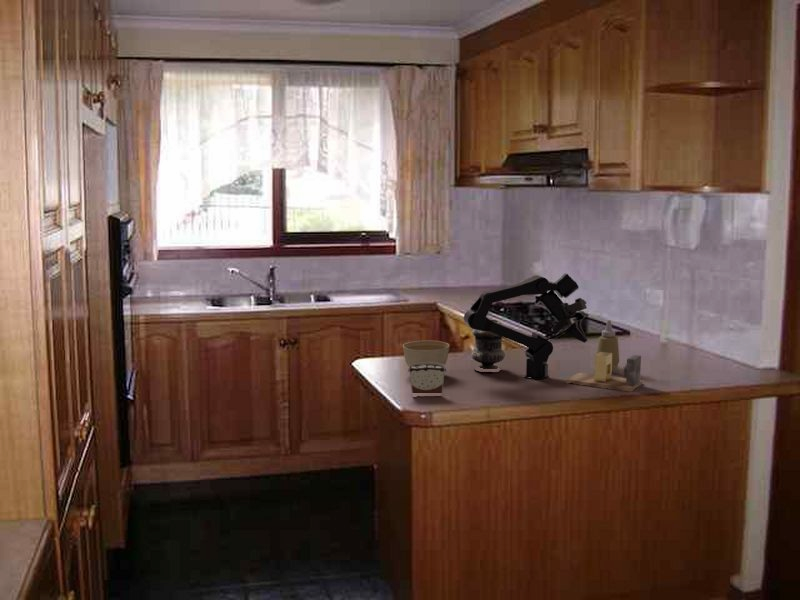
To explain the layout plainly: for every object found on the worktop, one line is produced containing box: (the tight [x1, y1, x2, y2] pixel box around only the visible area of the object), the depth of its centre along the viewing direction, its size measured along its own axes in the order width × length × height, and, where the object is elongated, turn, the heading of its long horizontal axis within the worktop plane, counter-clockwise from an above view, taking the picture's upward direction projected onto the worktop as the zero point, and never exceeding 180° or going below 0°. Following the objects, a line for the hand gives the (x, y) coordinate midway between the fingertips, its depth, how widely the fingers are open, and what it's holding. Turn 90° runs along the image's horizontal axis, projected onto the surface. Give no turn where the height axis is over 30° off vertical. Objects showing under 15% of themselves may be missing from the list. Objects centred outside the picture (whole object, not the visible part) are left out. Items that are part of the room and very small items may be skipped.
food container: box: [407, 362, 448, 394], centre depth 275 cm, size 12×6×10 cm, turn 92°
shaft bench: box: [565, 354, 643, 392], centre depth 287 cm, size 22×12×10 cm, turn 58°
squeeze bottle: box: [596, 320, 620, 368], centre depth 304 cm, size 8×8×18 cm
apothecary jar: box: [470, 318, 506, 369], centre depth 307 cm, size 12×12×18 cm
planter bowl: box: [402, 340, 450, 368], centre depth 300 cm, size 16×16×11 cm
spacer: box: [593, 352, 613, 382], centre depth 288 cm, size 4×6×9 cm, turn 148°
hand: (586, 341), depth 290 cm, fingers closed
